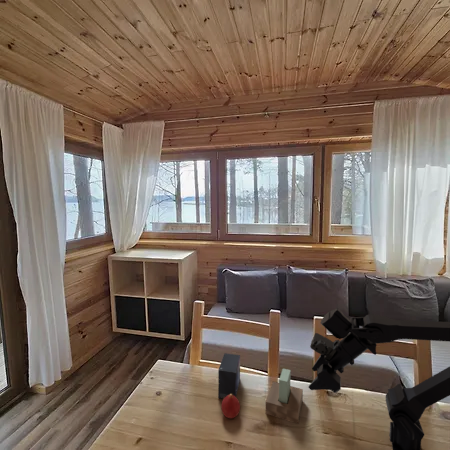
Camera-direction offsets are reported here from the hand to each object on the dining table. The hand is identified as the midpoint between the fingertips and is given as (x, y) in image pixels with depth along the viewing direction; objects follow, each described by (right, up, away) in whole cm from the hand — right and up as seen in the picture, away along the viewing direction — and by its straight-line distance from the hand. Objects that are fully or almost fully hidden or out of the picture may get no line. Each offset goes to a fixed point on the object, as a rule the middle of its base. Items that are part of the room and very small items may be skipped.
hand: (311, 378), depth 82 cm
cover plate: (-7, -12, +4) cm, 14 cm away
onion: (-25, -13, +1) cm, 28 cm away
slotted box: (-7, -13, +4) cm, 15 cm away
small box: (-25, -12, +14) cm, 31 cm away
